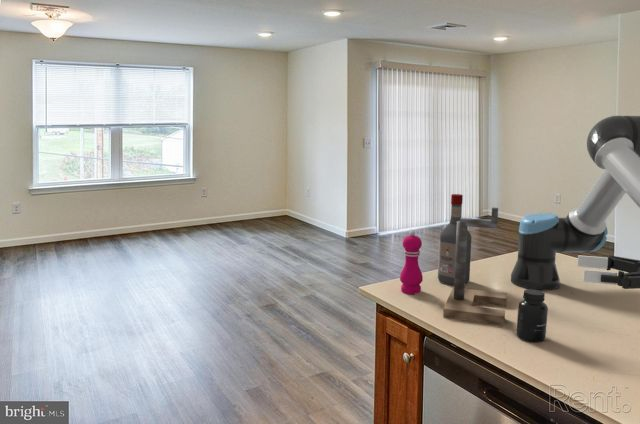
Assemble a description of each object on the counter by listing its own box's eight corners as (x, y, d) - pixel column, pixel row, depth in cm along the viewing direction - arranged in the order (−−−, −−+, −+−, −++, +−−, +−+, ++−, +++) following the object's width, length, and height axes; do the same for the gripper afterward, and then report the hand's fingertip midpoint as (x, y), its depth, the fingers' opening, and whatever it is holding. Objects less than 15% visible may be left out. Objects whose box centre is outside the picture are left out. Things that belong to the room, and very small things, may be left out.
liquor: (458, 287, 166) (462, 197, 161) (434, 281, 172) (437, 194, 167) (472, 281, 172) (476, 194, 167) (448, 275, 179) (452, 192, 173)
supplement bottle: (543, 345, 122) (546, 298, 120) (513, 339, 126) (516, 293, 123) (547, 335, 128) (550, 290, 126) (519, 329, 131) (522, 285, 129)
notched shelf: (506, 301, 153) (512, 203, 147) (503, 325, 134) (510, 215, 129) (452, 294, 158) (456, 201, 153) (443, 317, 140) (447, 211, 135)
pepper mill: (422, 295, 158) (424, 233, 155) (399, 294, 159) (400, 232, 156) (422, 288, 165) (424, 228, 162) (400, 287, 166) (401, 228, 163)
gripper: (703, 311, 101) (585, 299, 109) (670, 277, 124) (574, 269, 132) (707, 275, 100) (587, 265, 108) (674, 248, 123) (576, 241, 130)
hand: (580, 267), depth 120 cm, fingers open, 13 cm apart
